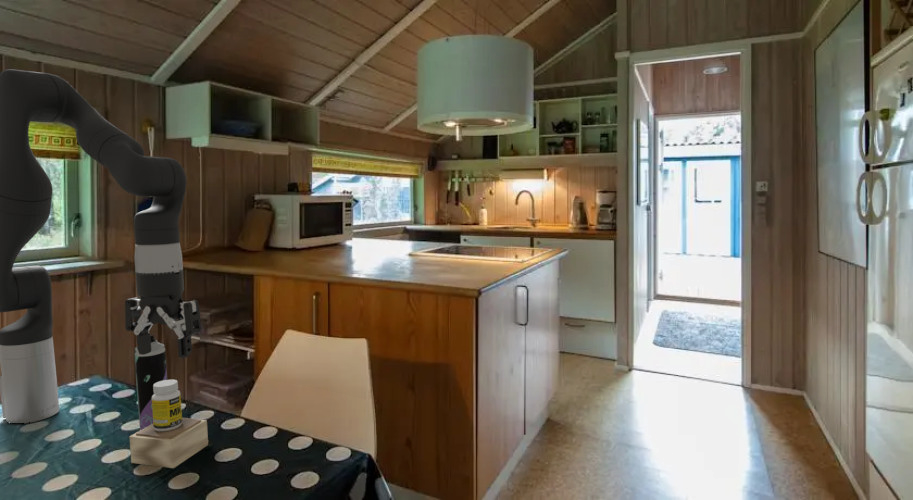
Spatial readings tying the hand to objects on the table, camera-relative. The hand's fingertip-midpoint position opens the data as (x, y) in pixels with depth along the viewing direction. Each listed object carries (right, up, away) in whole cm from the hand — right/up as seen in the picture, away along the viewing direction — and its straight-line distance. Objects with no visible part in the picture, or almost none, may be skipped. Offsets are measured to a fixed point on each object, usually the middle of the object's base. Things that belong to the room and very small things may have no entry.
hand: (164, 355), depth 97 cm
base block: (0, -19, +2) cm, 19 cm away
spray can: (-9, -18, +12) cm, 23 cm away
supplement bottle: (0, -14, +1) cm, 14 cm away
